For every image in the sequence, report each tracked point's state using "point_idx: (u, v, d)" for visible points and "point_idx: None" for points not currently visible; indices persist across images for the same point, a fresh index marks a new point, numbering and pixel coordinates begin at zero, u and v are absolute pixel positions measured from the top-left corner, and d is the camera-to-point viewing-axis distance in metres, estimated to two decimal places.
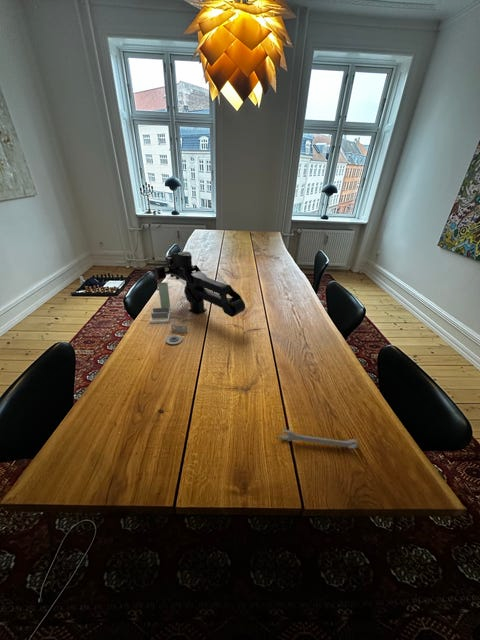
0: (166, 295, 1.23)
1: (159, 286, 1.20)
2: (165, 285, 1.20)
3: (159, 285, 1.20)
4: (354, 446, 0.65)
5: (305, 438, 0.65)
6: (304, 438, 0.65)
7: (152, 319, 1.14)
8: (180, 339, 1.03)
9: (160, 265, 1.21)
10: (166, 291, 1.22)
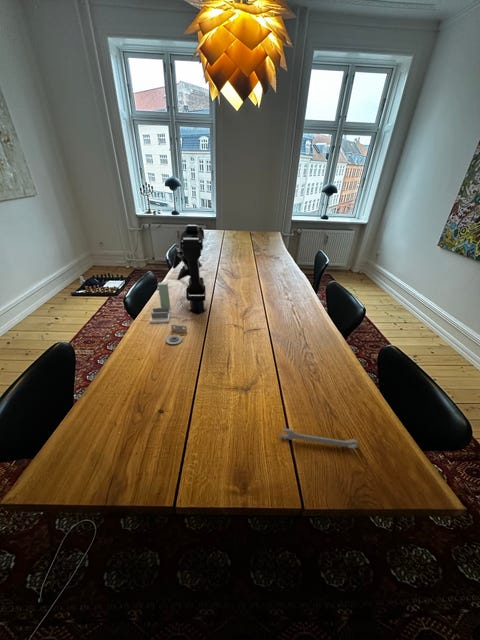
0: (166, 295, 1.23)
1: (159, 286, 1.20)
2: (165, 285, 1.20)
3: (159, 285, 1.20)
4: (354, 446, 0.65)
5: (305, 437, 0.65)
6: (304, 437, 0.65)
7: (152, 319, 1.14)
8: (180, 339, 1.03)
9: None
10: (166, 291, 1.22)
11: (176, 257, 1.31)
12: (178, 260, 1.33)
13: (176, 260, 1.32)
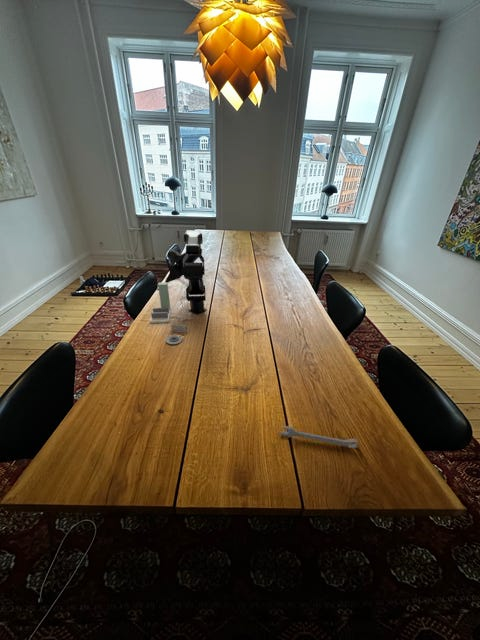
0: (166, 295, 1.23)
1: (159, 286, 1.20)
2: (165, 285, 1.20)
3: (159, 285, 1.20)
4: (354, 446, 0.65)
5: (305, 435, 0.66)
6: (304, 435, 0.66)
7: (152, 319, 1.14)
8: (180, 339, 1.03)
9: None
10: (166, 291, 1.22)
11: None
12: None
13: None
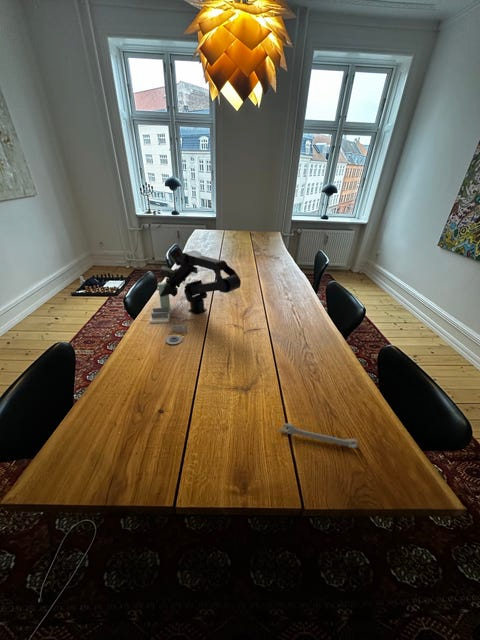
0: (166, 295, 1.23)
1: (159, 286, 1.20)
2: None
3: (159, 285, 1.20)
4: (354, 446, 0.65)
5: (305, 433, 0.66)
6: (304, 433, 0.66)
7: (152, 319, 1.14)
8: (180, 339, 1.03)
9: None
10: None
11: None
12: None
13: None
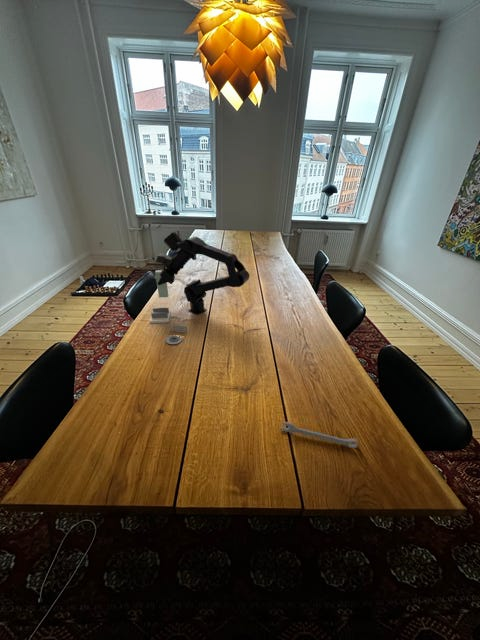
0: (163, 284, 1.18)
1: (156, 274, 1.15)
2: None
3: (156, 273, 1.15)
4: (354, 445, 0.65)
5: (305, 432, 0.67)
6: (304, 432, 0.67)
7: (152, 319, 1.14)
8: (180, 339, 1.03)
9: None
10: None
11: None
12: None
13: None
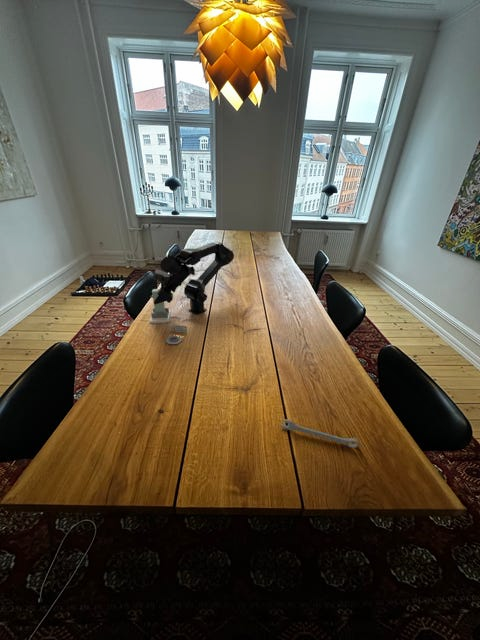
0: (160, 303, 1.13)
1: (153, 293, 1.11)
2: None
3: (153, 292, 1.10)
4: (354, 445, 0.65)
5: (305, 430, 0.67)
6: (304, 430, 0.67)
7: (152, 319, 1.14)
8: (180, 339, 1.03)
9: (158, 289, 1.07)
10: None
11: None
12: None
13: None
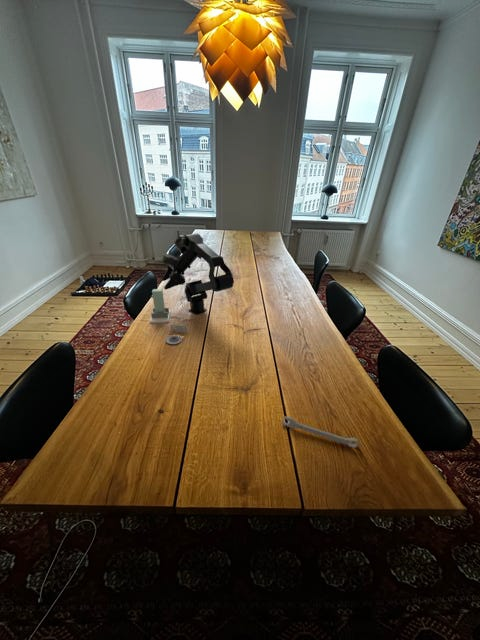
0: (160, 303, 1.13)
1: (153, 293, 1.11)
2: (160, 292, 1.11)
3: (153, 292, 1.10)
4: (354, 445, 0.65)
5: (305, 428, 0.68)
6: (304, 427, 0.68)
7: (152, 319, 1.14)
8: (180, 339, 1.03)
9: (169, 274, 1.09)
10: (161, 298, 1.12)
11: None
12: None
13: None
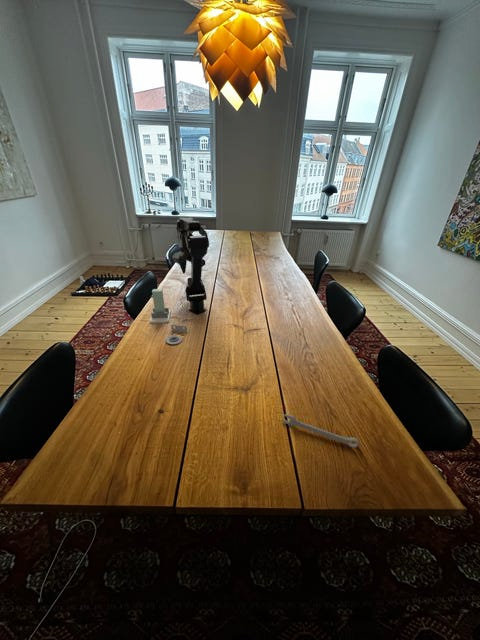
0: (160, 303, 1.13)
1: (153, 293, 1.11)
2: (160, 292, 1.11)
3: (153, 292, 1.10)
4: (354, 445, 0.65)
5: (305, 426, 0.68)
6: (304, 426, 0.68)
7: (152, 319, 1.14)
8: (180, 339, 1.03)
9: None
10: (161, 298, 1.12)
11: None
12: None
13: None
